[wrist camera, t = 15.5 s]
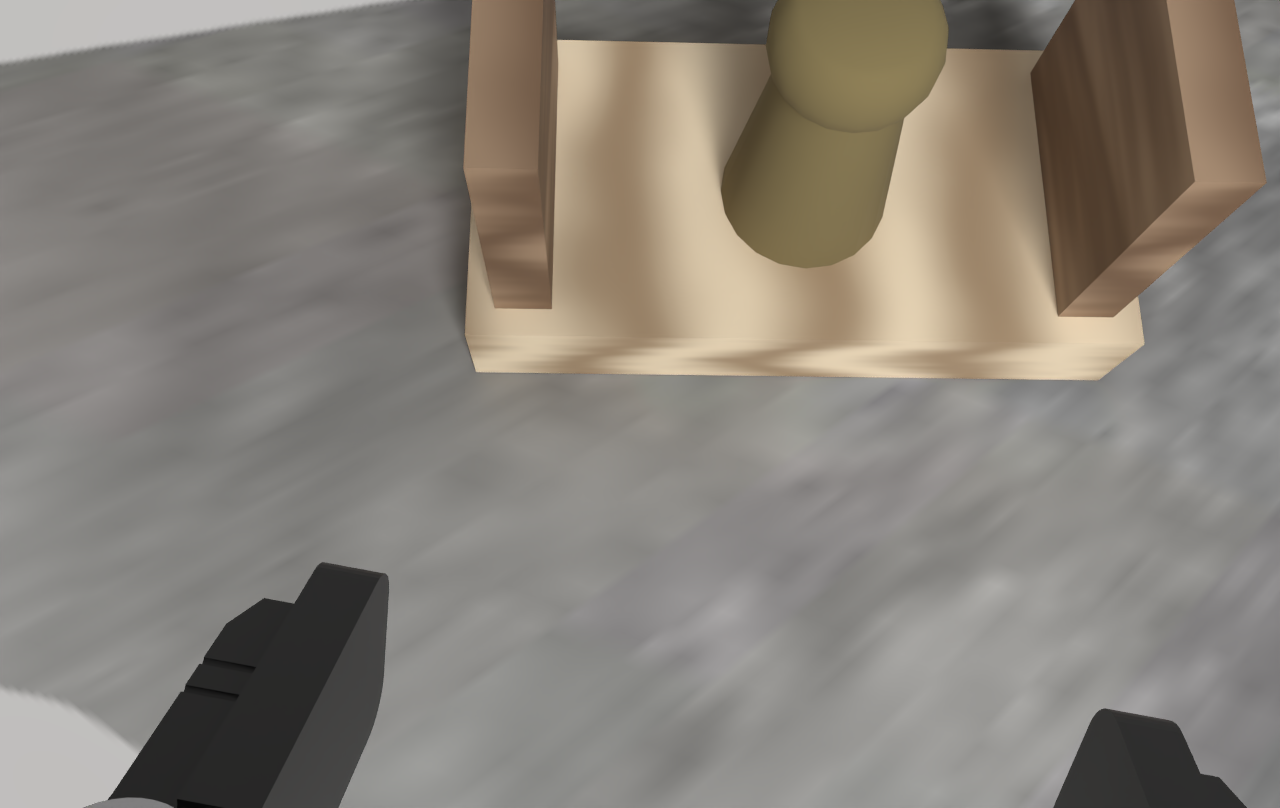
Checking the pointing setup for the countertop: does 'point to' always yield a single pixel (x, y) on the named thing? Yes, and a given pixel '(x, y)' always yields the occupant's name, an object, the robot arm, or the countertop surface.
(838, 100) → the cork
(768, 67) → the wooden slotted rack
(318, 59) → the countertop surface
